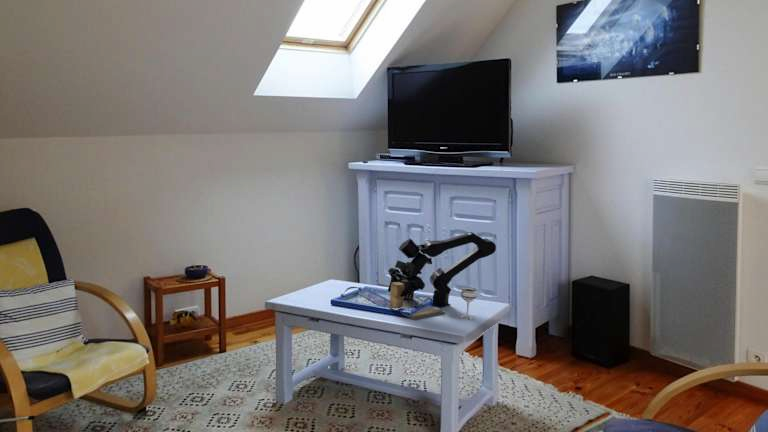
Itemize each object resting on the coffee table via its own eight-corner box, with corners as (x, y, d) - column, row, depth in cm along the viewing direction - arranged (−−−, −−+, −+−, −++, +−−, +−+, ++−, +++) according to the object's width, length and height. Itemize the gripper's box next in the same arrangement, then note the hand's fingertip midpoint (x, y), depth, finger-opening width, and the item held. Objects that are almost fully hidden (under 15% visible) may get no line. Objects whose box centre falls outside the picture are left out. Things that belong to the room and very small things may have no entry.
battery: (396, 298, 298) (398, 273, 296) (399, 296, 301) (401, 271, 299) (411, 301, 295) (413, 276, 294) (414, 299, 299) (416, 274, 297)
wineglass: (464, 313, 282) (466, 286, 280) (478, 317, 278) (480, 289, 276) (455, 316, 277) (457, 288, 275) (469, 321, 273) (472, 292, 271)
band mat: (427, 306, 289) (427, 303, 289) (445, 313, 281) (445, 310, 280) (397, 312, 278) (397, 308, 278) (414, 320, 270) (414, 316, 270)
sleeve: (396, 306, 286) (398, 281, 284) (402, 309, 283) (404, 284, 281) (389, 308, 284) (391, 282, 282) (395, 310, 281) (397, 285, 279)
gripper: (392, 249, 289) (371, 277, 284) (421, 258, 275) (399, 288, 270) (405, 265, 295) (384, 292, 290) (434, 275, 281) (412, 304, 276)
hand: (394, 293), depth 281 cm, fingers open, 8 cm apart
